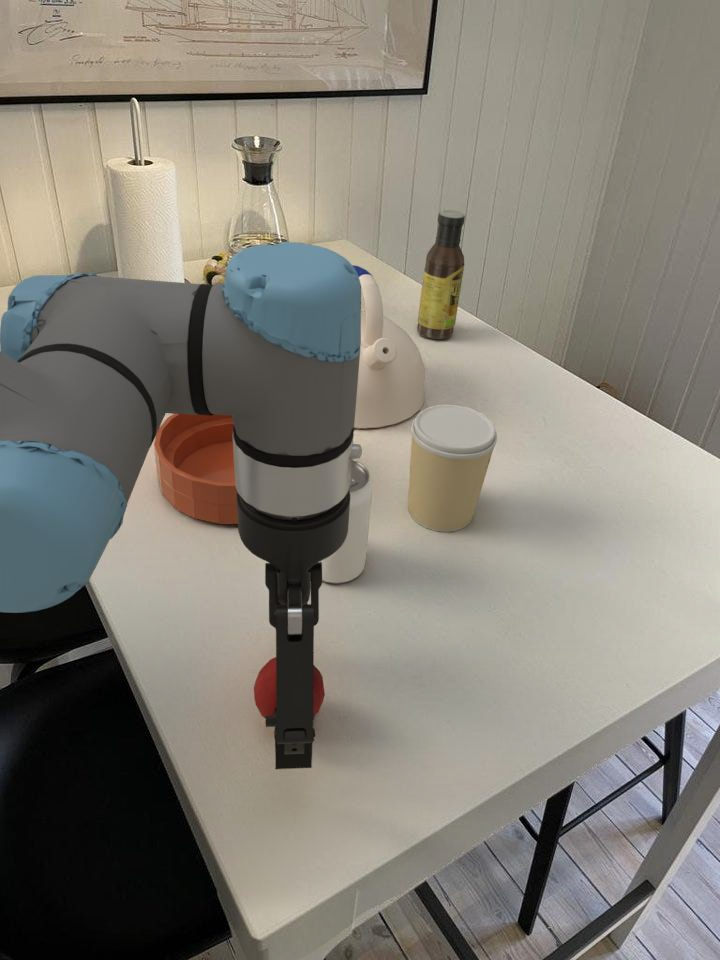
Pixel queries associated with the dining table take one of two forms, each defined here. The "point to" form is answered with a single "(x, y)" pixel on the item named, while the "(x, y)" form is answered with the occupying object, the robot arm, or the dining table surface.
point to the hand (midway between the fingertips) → (292, 690)
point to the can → (352, 531)
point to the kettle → (385, 365)
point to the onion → (267, 689)
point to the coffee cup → (448, 465)
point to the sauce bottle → (442, 279)
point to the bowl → (198, 466)
